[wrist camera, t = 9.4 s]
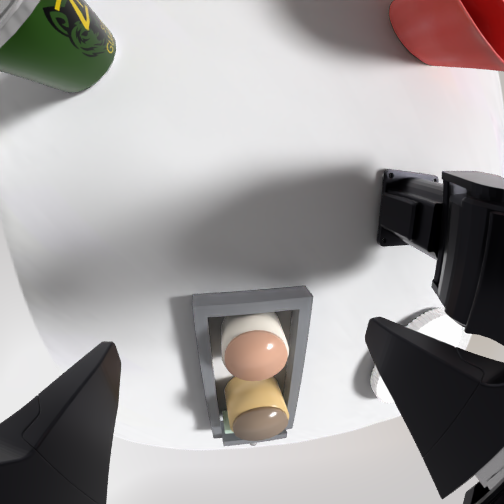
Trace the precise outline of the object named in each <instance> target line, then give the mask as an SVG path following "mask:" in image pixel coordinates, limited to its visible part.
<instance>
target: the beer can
mask: <svg viewBox="0 0 504 504" xmlns="http://www.w3.org/2000/svg"><path fill="white" fill-rule="evenodd" d="M115 52H116V43H115V39H114V37H113V35H112V33H111V32H110V31H109V30H108V28H107V27H106V26H105V25H104V24H103V22H102V21H101V20H100V19H99V18H98V16H97V15H96V14H95V13H94V12H93V10H92V9H91V8H90V7H89V6H88V4H87V3H86V2H85V1H84V0H0V71H1V72H4V73H8V74H11V75H15V76H18V77H22V78H25V79H28V80H31V81H34V82H37V83H40V84H43V85H46V86H49V87H52V88H55V89H58V90H61V91H64V92H68V93H72V92H80V91H82V90H84V89H87V88H89V87H91V86H93V85H94V84H95V83H97V82H98V81H100V80H101V79H102V78H103V76H104V75H105V74H106V73H107V72H108V70H109V68H110V67H111V65H112V63H113V60H114V56H115Z"/></svg>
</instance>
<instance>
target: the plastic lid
mask: <svg viewBox="0 0 504 504" xmlns="http://www.w3.org/2000/svg"><path fill="white" fill-rule="evenodd" d="M444 310H445V309H444V308H442V309H441V308H439V309H438V308H436V309H435V310H434V309H432V311H431V310H429V311H428V312H425V314H421V316H420V317H417V318H416V319H415V320H413V321H412V322H411V323H409V324H408V325H407V326H405V327H407V328H410V329H412V330H415V331H417V332H420V333H422V334H425V335H427V336H430V337H432V338H435V339H437V340H440V341H442V342H445V343H447V344H450V345H452V346H455V347H458V344H459V341H460V339H461V338H460V337H461V334H462V332H461V331H462V329H461V328H462V326H461V325H459V324H457V323H456V322H455V321H454V320H453V319H451V318H450V317H449V316H448V315H447V314H446V313H445V312H444ZM374 367H375V368H373V372H372V373H371V374H372V376H371V379H370V381H371V382H370V384H371V388H372V390H373V392H374V393H375V395H376V396H377V398H378V399H379V400H380V401H382V402H385V403H386V402H387V403H394V400H393V398H392V396H391V395H390V393H389V391H388V389H387V387H386V385H385V384H384V382H383V380H382V378H381V376H380V374H379V372H378V370H377V368H376V365H374Z"/></svg>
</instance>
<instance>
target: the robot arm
mask: <svg viewBox="0 0 504 504" xmlns="http://www.w3.org/2000/svg"><path fill="white" fill-rule="evenodd" d="M389 174H391V177H390V178H389ZM442 179H443V184H441V183H438V177H437V176H434V175H429V174H422V173H415V172H408V171H401V170H392V169H387V170H385V172H384V179H383V192H382V200H381V210H380V219H379V230H378V237H377V242H378V244H379V245H381V246H399V245H411V246H413V247H415V248H416V249H418V250H420V251H422V252H424V253H425V254H427V255H429V256H430V257H432V258H434V259H436V260H437V264H436V270H435V276H434V279H433V281H432V286H431V287H432V288H433V290H434V291H435V293H436V294H437V296H438V297H439V299H440V301H441V302H442V304H443V305H444V307H445V310H444V312H445V313H446V314H447V315H448V316H449V317H450V318H451V319H453V320H454V321H455V322H456V323H457V324H459V325H461V326H463V327H465V330H464V331H465V332H466V333H469V334H477V335H481V336H485V337H488V338H491V339H493V340H495V341H497V342H498V343H500V344H502V345H503V346H504V178H502V177H501V176H498V175H493V174H488V173H483V172H478V171H442ZM433 180H434V182H433ZM383 238H384V241H383V242H382V239H383ZM365 342H366V344H367V347H368V349H369V351H370V353H371V356H372V358H373V361H374V363H375V365H376V368H377V370H378V372H379V374H380V376H381V378H382V380H383V382H384V384H385V385H386V387H387V389H388V391H389V393H390V395H391V396H392V398H393V400H394V402H395V404H396V406H397V408H398V410H399V412H400V413H401V415H402V417H403V419H404V421H405V423H406V425H407V427H408V429H409V431H410V433H411V435H412V437H413V439H414V441H415V443H416V445H417V447H418V449H419V451H420V453H421V455H422V457H423V459H424V462H425V464H426V466H427V468H428V470H429V472H430V475H431V477H432V479H433V481H434V483H435V486H436V488H437V490H438V492H439V495H440V497H441V498H442V499H444V498H445V497H446V496H448V495H449V494H451V493H452V492H454V491H455V490H456V489H458V488H459V487H460V486H461V485H463V484H464V483H466V482H467V481H468V480H469V479H471V478H472V477H473V476H474V475H476V477H477V478H478V480H479V482H478V483H477V484H476V485H474V486H473V487H472V488H471V489H469V490H468V491H467V492H466V494H465V498H464V502H463V504H504V363H503V362H499V361H495V360H493V359H489V358H486V357H483V356H480V355H477V354H474V353H471V352H468V351H465V350H463V349H460V348H458V347H455V346H452V345H450V344H447V343H445V342H442V341H440V340H437V339H435V338H432V337H430V336H427V335H425V334H422V333H420V332H417V331H415V330H412V329H410V328H407V327H405V326H402V325H400V324H397V323H395V322H392V321H390V320H387V319H385V318H382V317H375V318H371V319H370V320H369V323H368V327H367V331H366V334H365ZM120 374H121V360H120V357H119V354H118V352H117V349H116V346H115V344H114V343H113V342H101V343H100V344H99V345H98V346H96V347H95V348H94V349H93V350H91V351H90V352H89V353H88V354H86V355H85V356H84V357H83V358H82V359H80V360H79V361H78V362H77V363H75V364H74V365H73V366H72V367H71V368H69V369H68V370H67V371H66V372H65V373H63V374H62V375H61V376H60V377H59V378H57V379H56V380H55V381H54V382H52V383H51V384H50V385H49V386H48V387H47V388H45V389H44V390H43V391H42V392H41V393H39V395H38V396H36V397H35V398H33V399H32V400H31V401H30V402H29V403H27V404H26V405H25V406H24V407H23V408H21V409H20V410H19V411H17V412H16V413H14V414H13V415H12V416H10V417H9V418H8V419H6V420H5V421H3V422H2V423H0V504H106V498H107V485H108V473H109V463H110V455H111V447H112V440H113V433H114V427H115V420H116V414H117V409H118V401H119V386H120Z"/></svg>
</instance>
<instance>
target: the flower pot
mask: <svg viewBox="0 0 504 504" xmlns="http://www.w3.org/2000/svg"><path fill="white" fill-rule="evenodd" d="M389 17H390V21H391V24H392V27H393V29H394V31H395V33H396V35H397V37H398V38H399V40H400V41H401V42H402V44H403V45H404V46H405V47H406V48H407V50H408V51H409V52H410V53H411V54H413V55H414V56H415V57H417V58H418V59H420V60H421V61H422V62H424V63H426V64H429V65H432V66H445V67H461V68H476V69H487V70H496V71H504V0H394V1H393V2H392V3H391V5H390V9H389Z"/></svg>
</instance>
